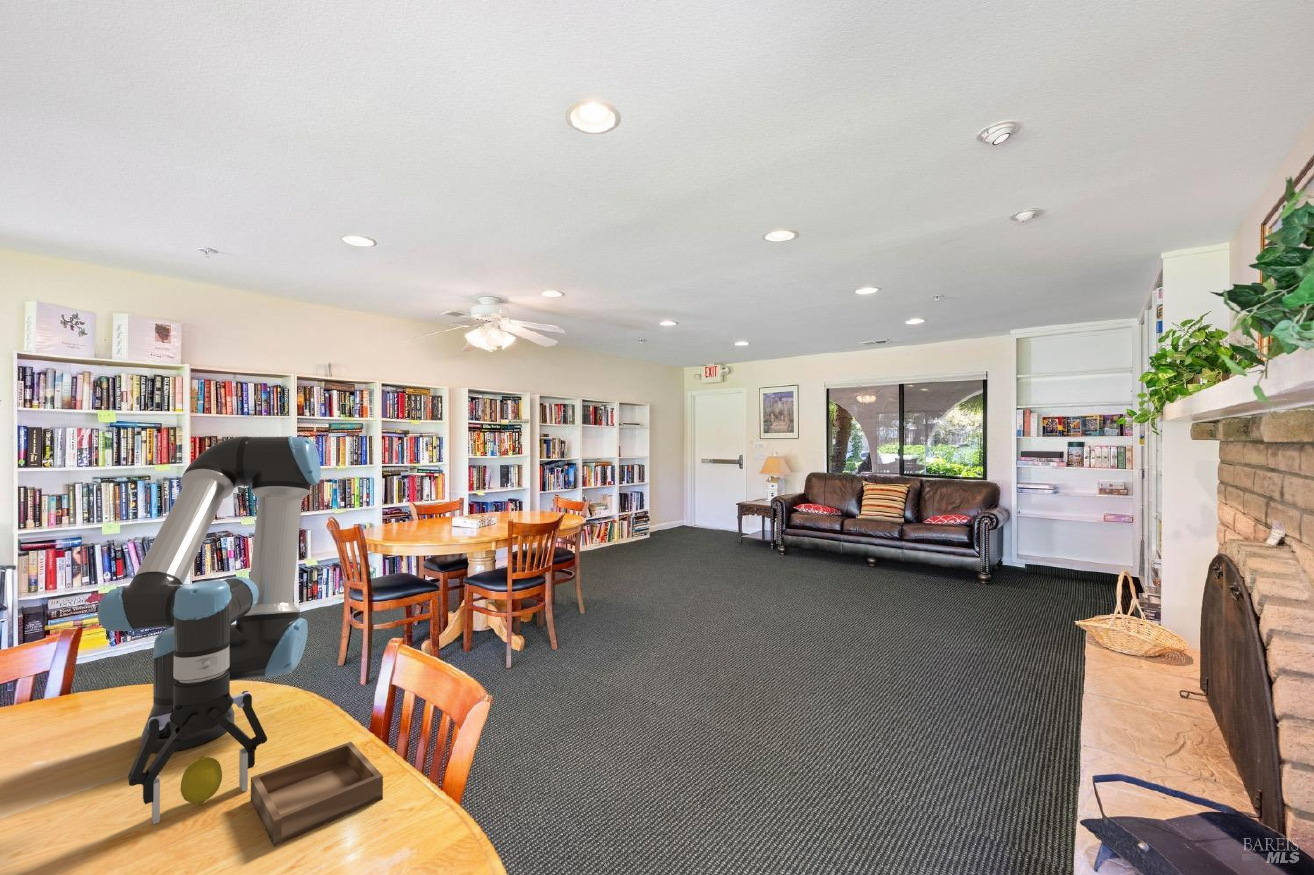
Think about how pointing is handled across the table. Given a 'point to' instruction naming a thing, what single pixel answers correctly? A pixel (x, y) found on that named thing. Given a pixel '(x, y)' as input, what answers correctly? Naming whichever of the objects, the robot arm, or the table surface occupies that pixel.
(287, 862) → the table surface
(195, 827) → the table surface
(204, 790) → the lemon
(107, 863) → the table surface
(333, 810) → the walnut bin
